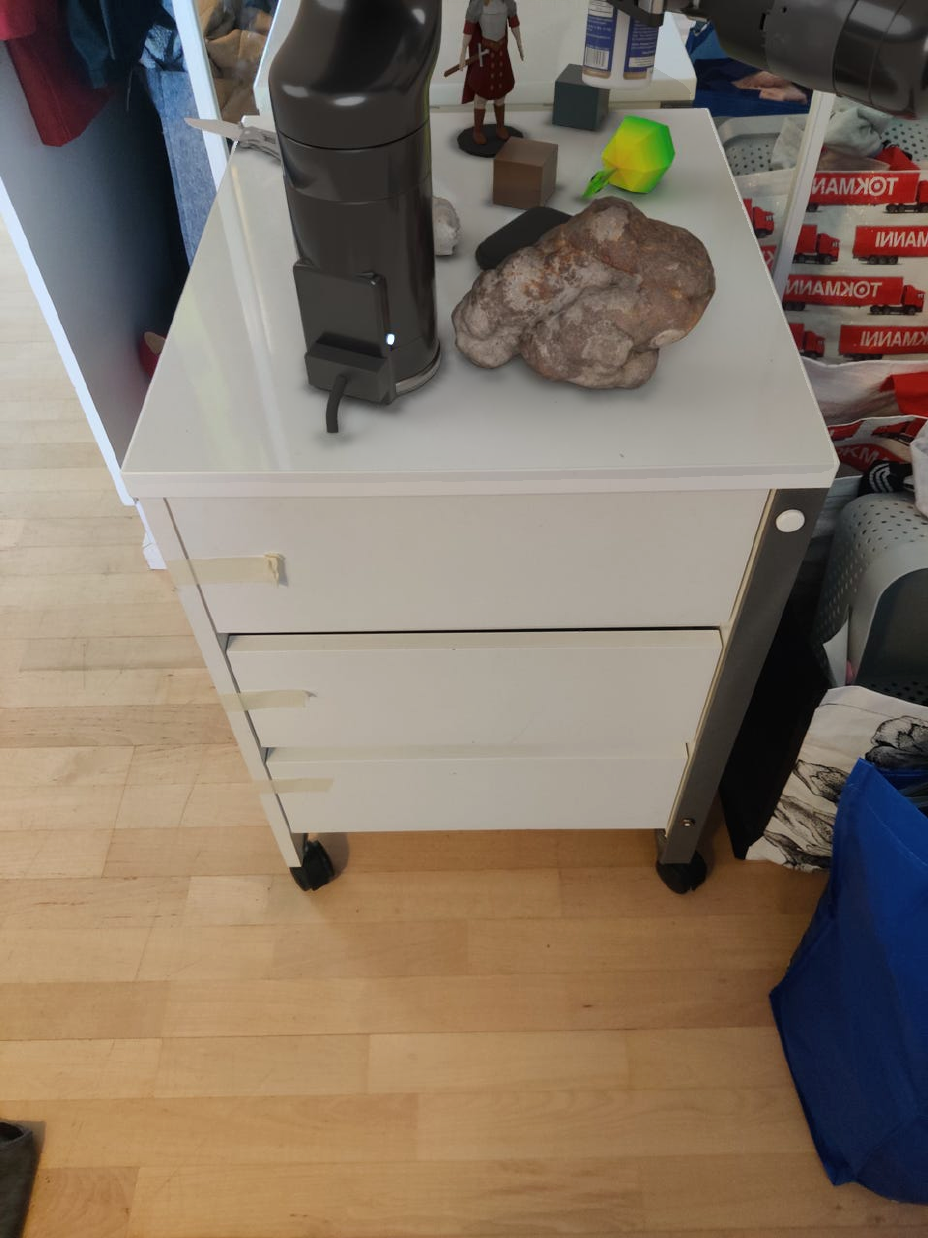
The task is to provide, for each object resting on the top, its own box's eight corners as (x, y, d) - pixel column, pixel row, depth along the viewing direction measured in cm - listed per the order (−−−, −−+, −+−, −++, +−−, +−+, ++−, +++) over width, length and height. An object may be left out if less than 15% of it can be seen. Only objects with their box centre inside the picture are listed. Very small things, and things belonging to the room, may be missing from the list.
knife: (176, 133, 90) (196, 119, 92) (314, 176, 84) (333, 161, 86) (171, 117, 89) (191, 103, 90) (311, 160, 83) (330, 144, 84)
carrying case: (455, 281, 73) (608, 348, 67) (455, 246, 71) (613, 312, 65) (533, 227, 78) (681, 285, 72) (534, 192, 76) (688, 249, 70)
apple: (664, 86, 78) (607, 121, 74) (703, 151, 79) (649, 189, 75) (611, 135, 84) (556, 170, 80) (648, 195, 86) (595, 233, 81)
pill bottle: (649, 80, 71) (671, -76, 65) (652, 93, 67) (676, -72, 60) (581, 76, 71) (596, -79, 65) (580, 89, 67) (596, -76, 61)
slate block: (595, 130, 89) (599, 87, 86) (552, 123, 90) (554, 80, 87) (607, 112, 92) (612, 69, 89) (565, 105, 93) (568, 62, 90)
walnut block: (539, 212, 80) (542, 166, 76) (492, 203, 81) (492, 157, 78) (555, 188, 82) (558, 143, 79) (509, 180, 83) (510, 135, 80)
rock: (518, 353, 74) (498, 450, 69) (440, 241, 65) (411, 343, 61) (740, 287, 64) (733, 395, 59) (682, 145, 55) (669, 259, 51)
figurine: (471, 162, 85) (470, -24, 74) (444, 130, 90) (440, -50, 78) (535, 149, 87) (545, -35, 75) (506, 119, 91) (511, -60, 79)
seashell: (443, 271, 74) (430, 223, 71) (342, 207, 83) (327, 161, 79) (482, 245, 75) (472, 196, 71) (379, 184, 84) (365, 138, 80)
